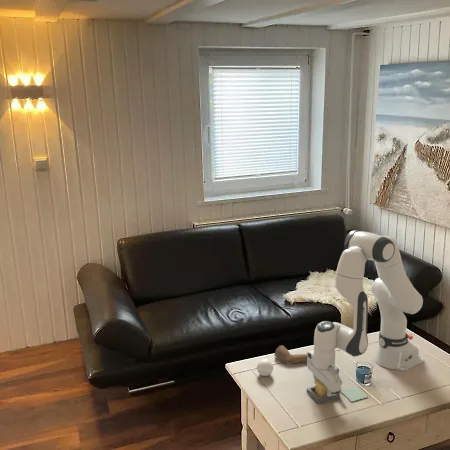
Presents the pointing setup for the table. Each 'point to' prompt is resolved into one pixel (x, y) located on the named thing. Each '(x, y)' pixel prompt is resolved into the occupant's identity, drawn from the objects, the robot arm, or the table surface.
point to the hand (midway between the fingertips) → (322, 389)
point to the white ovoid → (264, 367)
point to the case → (322, 399)
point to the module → (320, 389)
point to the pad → (353, 394)
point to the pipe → (289, 356)
